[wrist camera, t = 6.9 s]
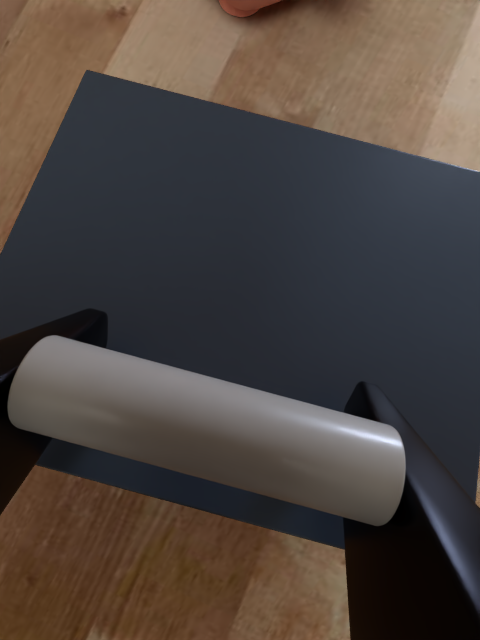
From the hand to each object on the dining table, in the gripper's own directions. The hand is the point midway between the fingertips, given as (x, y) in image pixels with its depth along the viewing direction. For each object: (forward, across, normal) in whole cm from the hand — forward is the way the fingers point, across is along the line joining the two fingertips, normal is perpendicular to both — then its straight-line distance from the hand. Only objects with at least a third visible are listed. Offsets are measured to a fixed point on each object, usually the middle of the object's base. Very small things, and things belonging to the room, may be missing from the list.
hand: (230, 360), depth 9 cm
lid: (+3, 0, 0) cm, 3 cm away
